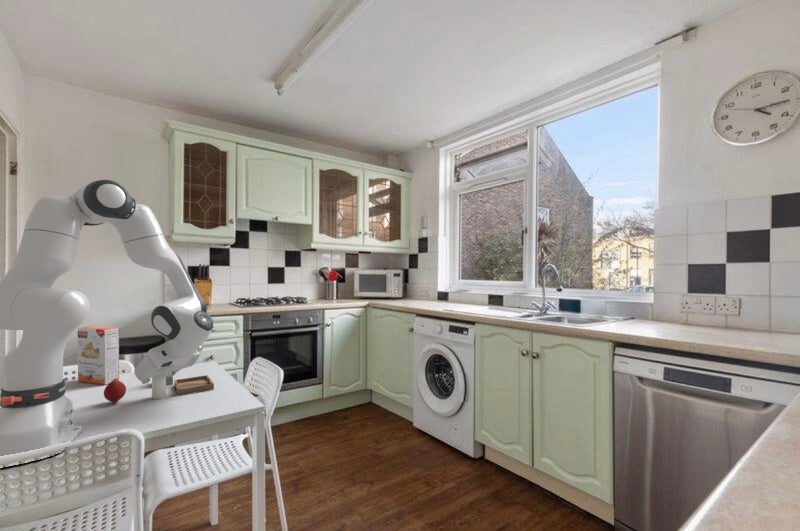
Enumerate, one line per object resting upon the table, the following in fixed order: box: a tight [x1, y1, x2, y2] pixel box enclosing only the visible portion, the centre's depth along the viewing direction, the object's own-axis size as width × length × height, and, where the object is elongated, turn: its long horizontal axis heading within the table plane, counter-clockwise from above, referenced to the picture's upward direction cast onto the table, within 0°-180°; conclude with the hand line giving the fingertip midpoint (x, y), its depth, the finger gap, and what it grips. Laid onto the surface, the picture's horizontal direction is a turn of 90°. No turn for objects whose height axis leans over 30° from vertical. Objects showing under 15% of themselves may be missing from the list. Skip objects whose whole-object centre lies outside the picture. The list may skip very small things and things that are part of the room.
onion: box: [103, 378, 127, 404], centre depth 125 cm, size 6×6×8 cm
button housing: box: [166, 375, 174, 386], centre depth 144 cm, size 6×6×3 cm
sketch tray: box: [173, 374, 215, 396], centre depth 140 cm, size 13×11×2 cm
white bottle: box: [151, 373, 167, 400], centre depth 130 cm, size 4×4×12 cm
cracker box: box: [77, 325, 120, 386], centre depth 147 cm, size 14×6×21 cm, turn 73°
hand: (157, 378), depth 130 cm, fingers open, 8 cm apart
